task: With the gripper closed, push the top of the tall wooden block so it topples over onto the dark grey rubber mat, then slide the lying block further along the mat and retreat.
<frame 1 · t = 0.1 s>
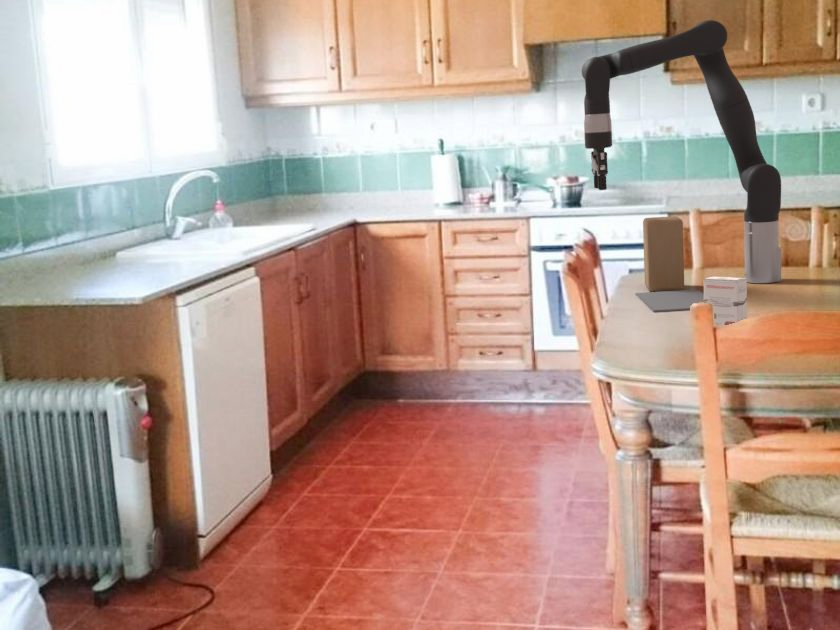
hand: (600, 189, 297), 29 cm above the table, fingers open, 8 cm apart
wooden block: (664, 289, 300), on the table
ink box: (725, 330, 240), on the table
rubber mat: (676, 301, 279), on the table
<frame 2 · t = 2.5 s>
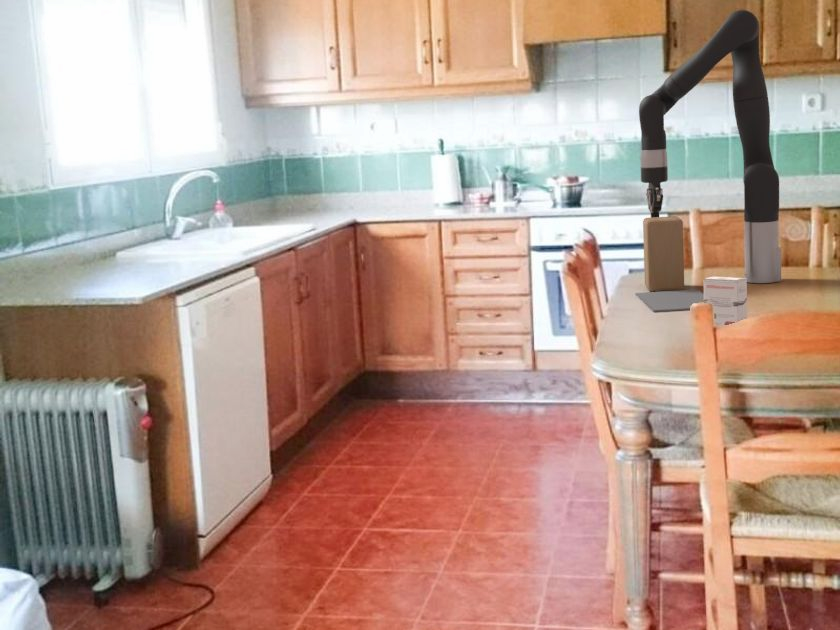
hand: (655, 225, 307), 17 cm above the table, fingers closed
nothing on the table moved.
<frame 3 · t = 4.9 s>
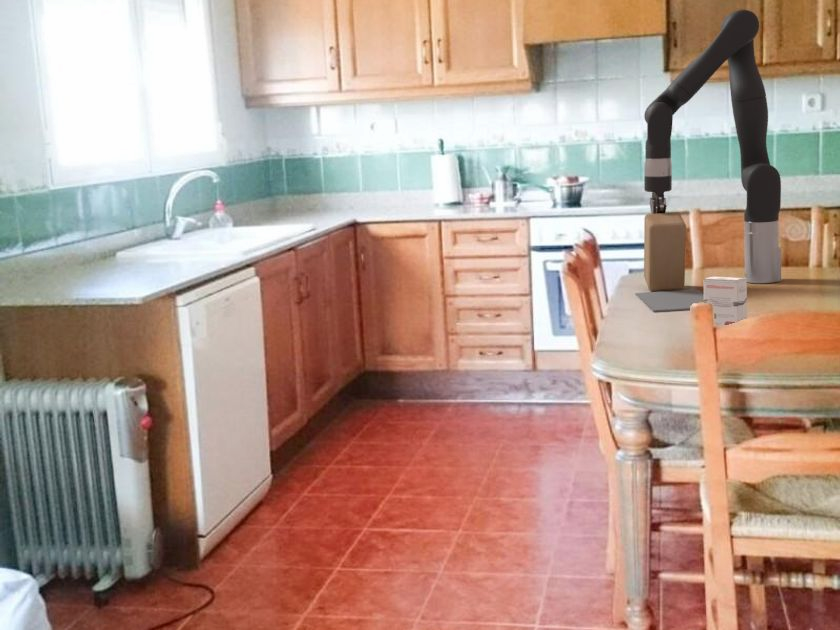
hand: (657, 235, 301), 15 cm above the table, fingers closed
wooden block: (663, 285, 299), point 1 cm above the table, touching hand
everything else where it was.
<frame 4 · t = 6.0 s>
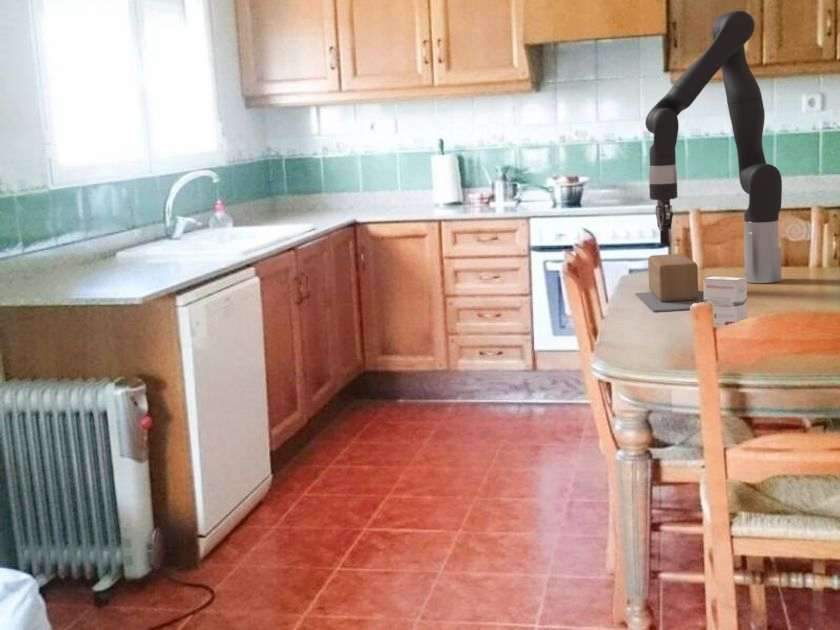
hand: (664, 243, 295), 13 cm above the table, fingers closed
wooden block: (666, 271, 294), point 5 cm above the table, touching rubber mat
everything else where it was.
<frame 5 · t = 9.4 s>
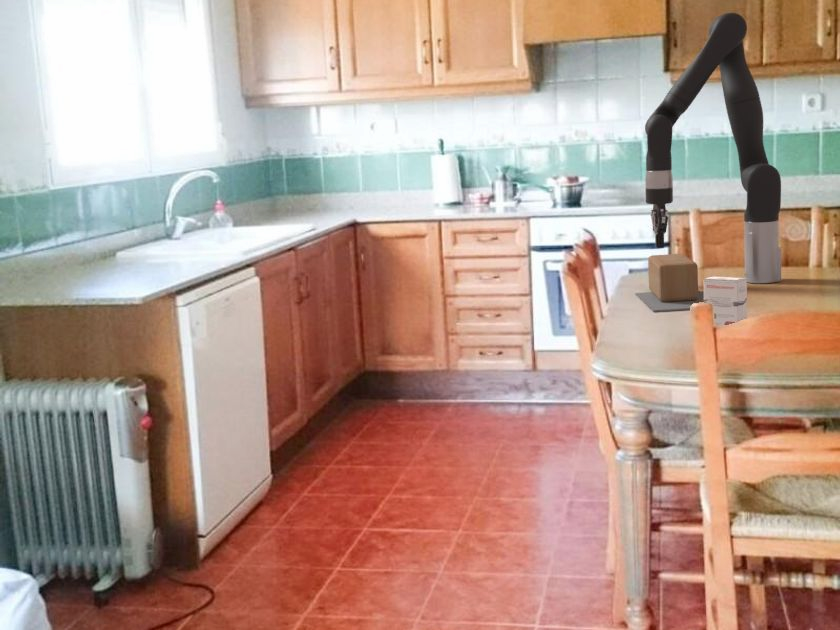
hand: (659, 247, 301), 11 cm above the table, fingers closed
nothing on the table moved.
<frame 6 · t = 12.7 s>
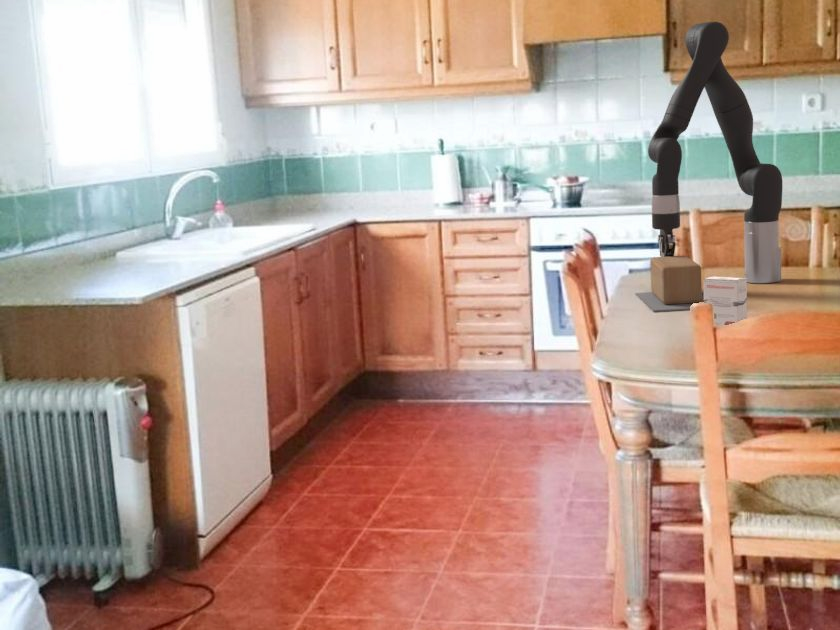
hand: (667, 273, 293), 5 cm above the table, fingers closed
wooden block: (668, 273, 290), point 5 cm above the table, touching hand, rubber mat
everything else where it was.
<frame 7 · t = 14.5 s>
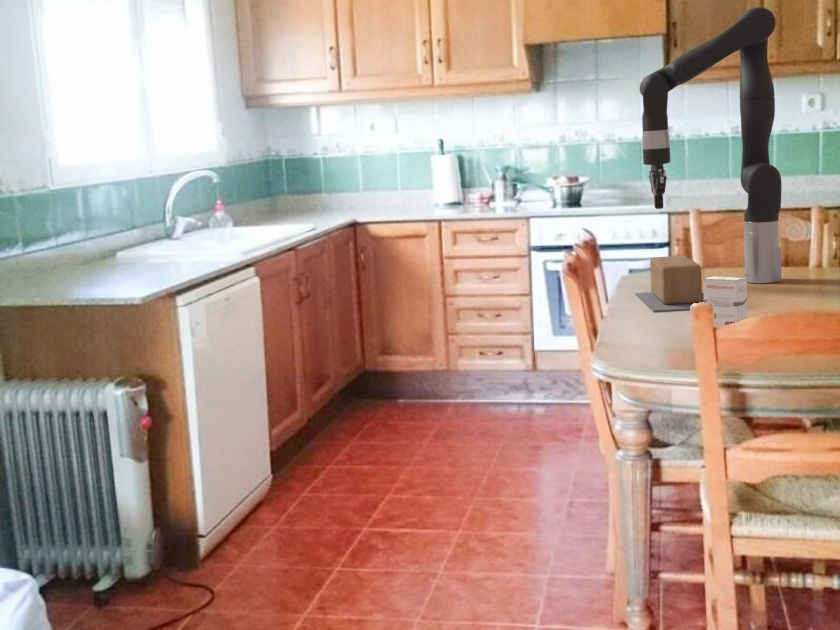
hand: (659, 208, 299), 22 cm above the table, fingers closed
wooden block: (668, 273, 290), point 5 cm above the table, touching rubber mat
everything else where it was.
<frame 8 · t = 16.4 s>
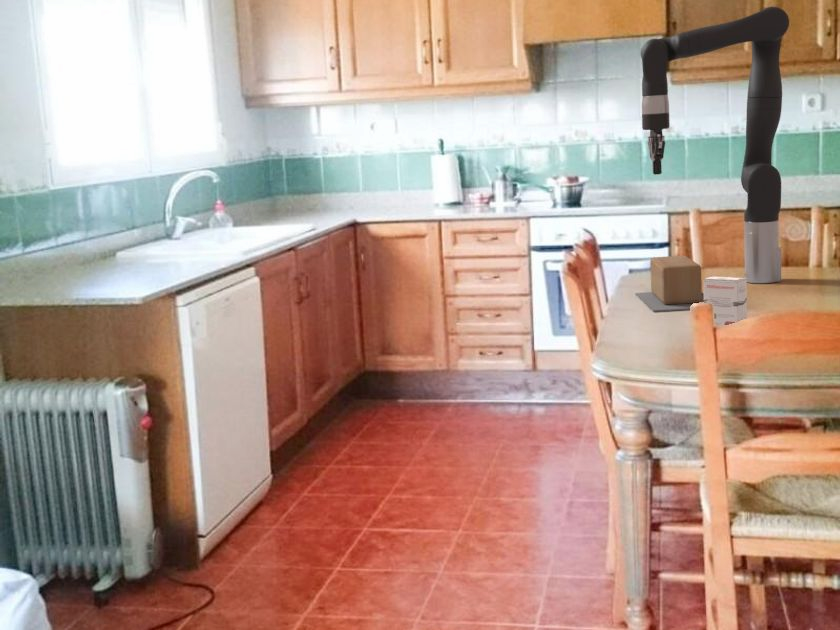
hand: (657, 174, 300), 32 cm above the table, fingers closed
nothing on the table moved.
at the end: wooden block tilted 90°; wooden block inside the target area (10.6 cm from its centre), point 5.5 cm above the table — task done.
